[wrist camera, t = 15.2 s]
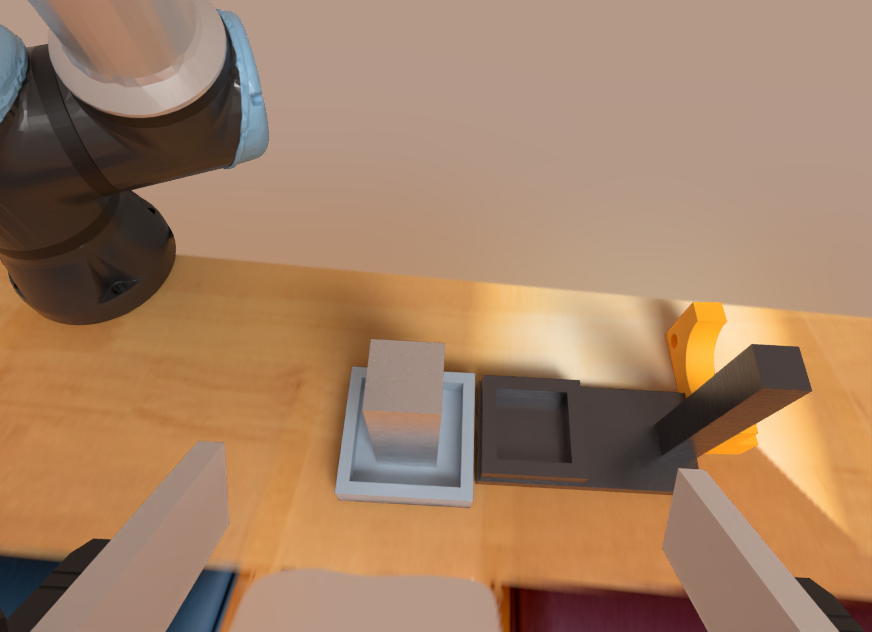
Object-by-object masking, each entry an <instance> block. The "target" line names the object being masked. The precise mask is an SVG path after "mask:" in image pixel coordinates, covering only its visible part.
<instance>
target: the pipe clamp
mask: <svg viewBox="0 0 872 632" xmlns="http://www.w3.org/2000/svg"><path fill="white" fill-rule="evenodd" d="M726 322H727V320H726V317H725V313H724V309H723V306H722V303H716V302H693V303H692V304H691V305H690V306H689V307H688V309H687V310H686V311H685V312H684V313H683V314H682V315H681V317H680V318H679V319H678V320H677V321H676V322H675V324H674V325H673V326H672V327H671V328H670V329H669V330H668V332H667V333H666V338H667V342H668V347H669V351H670V356H671V361H672V365H673V370H674V374H675V379H676V384H677V388H678V392H679V393H685V396H686V398H687V397H689V396H690V395H691V394H692V393H693V392H695V391H696V390H697V389H698V388H699V387H701V386H702V385H703V384H704V383H705V382H707V381H708V380H709V379H710V378H712V377H713V376H714V375H715V374H714V350H715V344H716V340H717V337H718V335H719V332H720V330H721V329H722V327H723V326H724V324H725V323H726ZM756 434H758V430H757V427H756V424H754V425H753V426H751V427H749V428H748V429H746V430H744V431H742V432H741V433H739V434H737V435H735V436H734V437H732V438H730V439H729V440H727V441H725V442H723V443H722V444H720V445H718V446H717V447H715V448H713V449H711V450H710V451H708V452H706V453H704V454H741V453H743V452H745V451H747V450H749V449H751V448H753V447H755V446H757V445H758V442H757V439H756Z"/></svg>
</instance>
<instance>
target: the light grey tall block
mask: <svg viewBox="0 0 872 632" xmlns="http://www.w3.org/2000/svg"><path fill="white" fill-rule="evenodd" d="M444 354H445V343H432V342H414V341H397V340H379V339H371V343H370V351H369V359H368V368H367V376H366V384H365V393H364V401H363V409H362V410H363V414H364V418H365V421H366V425H367V428H368V432H369V435H370V439H371V442H372V446H373V449H374V453H375V456H376V460H377V464H378V465H394V466H412V467H429V468H436V466H437V456H438V446H439V436H440V426H441V416H442V397H443V375H444Z"/></svg>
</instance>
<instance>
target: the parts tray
mask: <svg viewBox="0 0 872 632" xmlns="http://www.w3.org/2000/svg"><path fill="white" fill-rule="evenodd" d="M367 368H368V367H353V366H352V371H351V378H350V385H349V393H348V400H347V408H346V415H345V422H344V430H343V437H342V444H341V452H340V459H339V466H338V474H337V481H336V489H335V494H336V496H337V497H338V499H339V500H341V501H359V502H377V503H394V504H412V505H429V506H447V507H464V508H470V506H471V504H472V502H473V462H474V403H475V373H460V372H444V375H443V397H442V416H441V426H440V436H439V446H438V456H437V466H436V468H429V467H412V466H394V465H378V464H377V460H376V456H375V453H374V449H373V446H372V442H371V439H370V435H369V432H368V428H367V425H366V421H365V418H364V414H363V410H362V409H363V401H364V393H365V384H366V376H367Z"/></svg>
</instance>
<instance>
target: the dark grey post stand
mask: <svg viewBox="0 0 872 632" xmlns="http://www.w3.org/2000/svg"><path fill="white" fill-rule="evenodd" d="M811 391H812V389H811V385H810V382H809V379H808V375H807V372H806V369H805V365H804V362H803V359H802V355H801V352H800V349H799V347H794V346H776V345H758V344H751V345H750V346H749V347H748V348H747V349H745V350H744V351H743V352H742V353H741V354H739V355H738V356H737V357H736V358H735V359H733V360H732V361H731V362H730V363H728V364H727V365H726V366H725V367H724V368H722V369H721V370H720V371H719V372H718V373H716V374H715V375H714V376H713V377H712V378H710V379H709V380H708V381H707V382H705V383H704V384H703V385H702V386H701V387H699V388H698V389H697V390H696V391H695V392H693V393H692V394H691V395H690V396H689V397H687V398H686V396H685V393H679V392H661V391H643V390H625V389H607V388H590V387H580V380H564V379H546V378H528V377H510V376H492V375H483V377H482V381H479V382H478V391H477V460H476V484H487V485H504V486H522V487H539V488H557V489H575V490H592V491H610V492H628V493H645V494H663V495H673V492H674V487H675V482H676V477H677V472H678V468H683V469H699V468H698V463H697V458H698V457H699V456H701V455H703V454H704V453H706V452H708V451H710V450H711V449H713V448H715V447H717V446H718V445H720V444H722V443H723V442H725V441H727V440H729V439H730V438H732V437H734V436H735V435H737V434H739V433H741V432H742V431H744V430H746V429H748V428H749V427H751V426H753V425H754V424H756V423H758V422H760V421H761V420H763V419H765V418H767V417H768V416H770V415H772V414H773V413H775V412H777V411H779V410H780V409H782V408H784V407H786V406H787V405H789V404H791V403H792V402H794V401H796V400H798V399H799V398H801V397H803V396H804V395H806V394H808V393H810V392H811Z"/></svg>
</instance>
